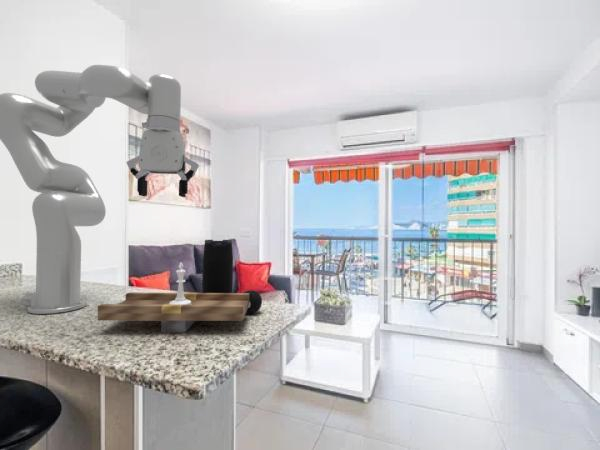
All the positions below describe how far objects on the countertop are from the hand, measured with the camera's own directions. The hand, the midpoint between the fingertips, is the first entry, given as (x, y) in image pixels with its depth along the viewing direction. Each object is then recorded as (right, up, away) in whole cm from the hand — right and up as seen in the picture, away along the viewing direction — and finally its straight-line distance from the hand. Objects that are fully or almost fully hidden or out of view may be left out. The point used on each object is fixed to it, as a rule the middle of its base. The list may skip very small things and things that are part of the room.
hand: (162, 196), depth 77 cm
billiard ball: (+21, -31, +5) cm, 38 cm away
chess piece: (+7, -26, -6) cm, 28 cm away
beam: (+7, -30, -6) cm, 32 cm away
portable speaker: (+11, -31, +11) cm, 34 cm away
